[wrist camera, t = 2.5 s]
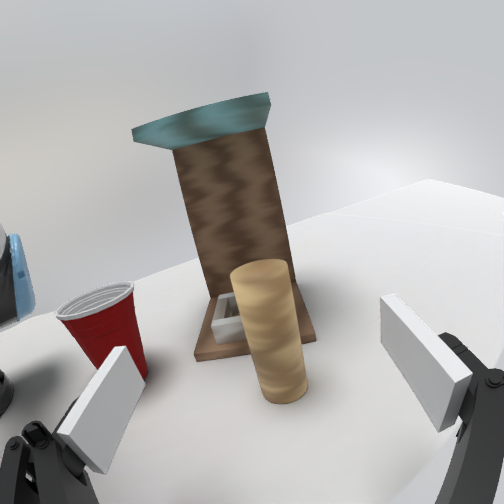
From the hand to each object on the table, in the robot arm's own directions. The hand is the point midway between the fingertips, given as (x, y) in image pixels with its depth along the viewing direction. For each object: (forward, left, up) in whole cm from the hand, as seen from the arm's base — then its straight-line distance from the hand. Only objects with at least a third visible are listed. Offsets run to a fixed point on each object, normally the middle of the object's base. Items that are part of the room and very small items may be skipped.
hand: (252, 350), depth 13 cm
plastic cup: (-19, +15, -13) cm, 27 cm away
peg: (+1, +10, -12) cm, 16 cm away
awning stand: (-2, +26, -12) cm, 29 cm away
